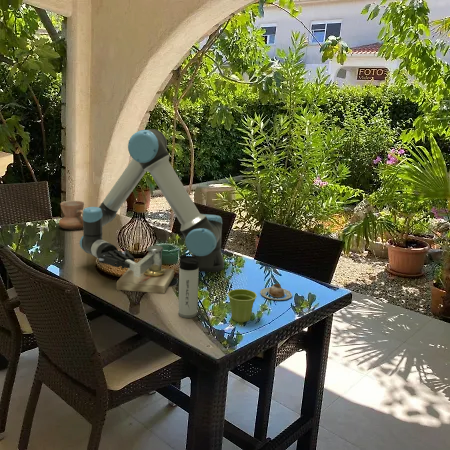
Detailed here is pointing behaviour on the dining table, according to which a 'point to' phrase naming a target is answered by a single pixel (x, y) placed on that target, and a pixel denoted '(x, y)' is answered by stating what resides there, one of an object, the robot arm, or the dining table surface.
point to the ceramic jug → (72, 215)
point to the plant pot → (241, 304)
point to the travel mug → (188, 286)
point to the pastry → (276, 292)
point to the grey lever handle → (150, 263)
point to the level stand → (145, 282)
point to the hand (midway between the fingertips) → (136, 268)
